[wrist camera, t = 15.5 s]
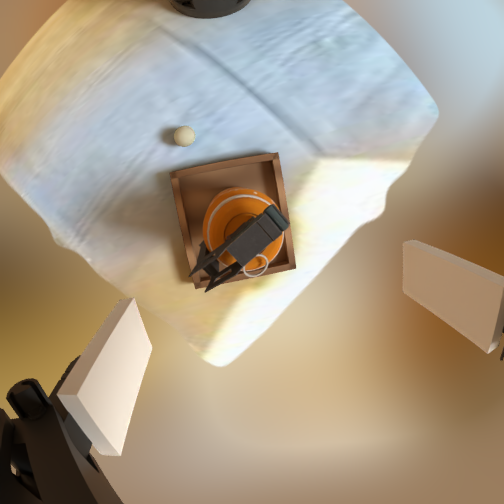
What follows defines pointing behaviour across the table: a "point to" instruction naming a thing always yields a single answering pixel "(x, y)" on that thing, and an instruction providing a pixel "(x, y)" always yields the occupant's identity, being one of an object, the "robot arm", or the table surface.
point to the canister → (239, 234)
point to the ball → (184, 136)
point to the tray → (214, 181)
